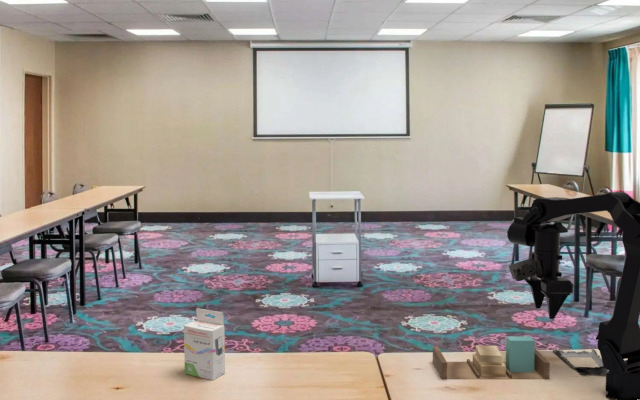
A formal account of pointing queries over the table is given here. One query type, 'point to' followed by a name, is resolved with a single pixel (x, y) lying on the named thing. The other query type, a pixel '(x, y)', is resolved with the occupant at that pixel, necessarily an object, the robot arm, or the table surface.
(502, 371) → the offcut low
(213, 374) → the ink box
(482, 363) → the offcut top
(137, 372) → the table surface
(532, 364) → the teal rectangular block
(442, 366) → the rack
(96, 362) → the table surface
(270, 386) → the table surface
